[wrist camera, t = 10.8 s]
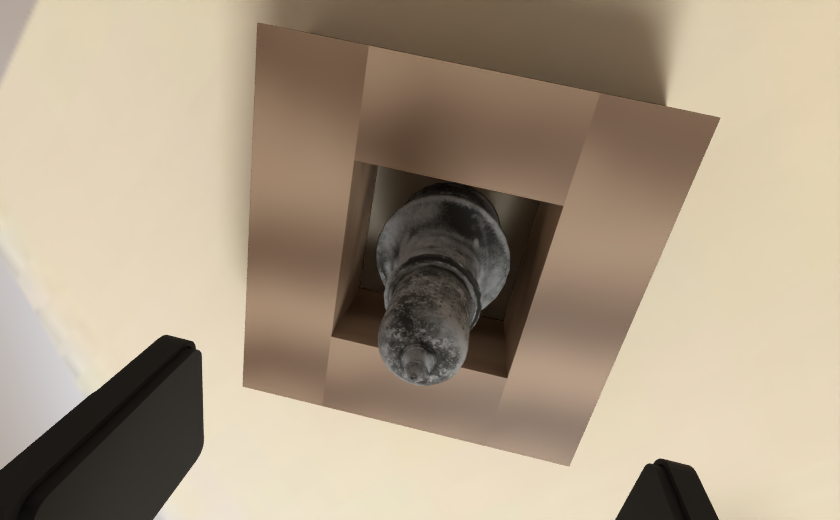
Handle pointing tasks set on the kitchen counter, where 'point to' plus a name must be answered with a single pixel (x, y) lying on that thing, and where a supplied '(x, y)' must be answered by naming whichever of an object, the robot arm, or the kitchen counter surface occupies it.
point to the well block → (471, 165)
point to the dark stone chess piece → (437, 279)
